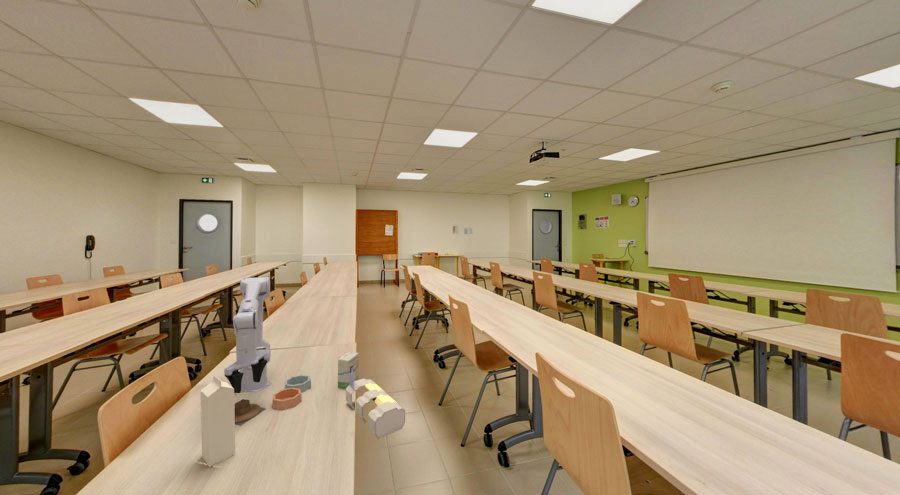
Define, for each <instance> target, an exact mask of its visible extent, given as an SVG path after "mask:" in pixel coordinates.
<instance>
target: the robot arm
mask: <svg viewBox="0 0 900 495" xmlns="http://www.w3.org/2000/svg"><path fill="white" fill-rule="evenodd" d="M239 288H240V289H239V290H240V292H241V295H242V297H243V299H242V300H241V301H240V304H239V308H238V311H237V314H234V316H233V318H232V320H233V321H232V323H233V330H234V336H235V350H236V351H235V352H236V353H235V354H236V361H234V362H233V363H231V365H229V366H228V367H225V368H224V370H223V371H224V372H223V373H224V374H223V375H224V377H225V378H226V379H227V380H228V382H229V385H230V386H232V387H233V388H234V394H240V393H241V392H242V391H243V392H250V393H258V392H259V391H261V390H264V389H265V388H266V387H269V386H270V385H272V384H273V382H272V381H268V377H267V375H268V374H267V373H268V371H267V370H268V369H267V364H269V363H270V361H271V355H272V354H271V344H270V342H268V341H267V340H265V339H263V331H264V330H263V328H264V326H263V324H264V321H263V320H264V303H265V300H266V299H267V298H268V297H270V295H271V278H270V277H269V276H262V277H259V276H258V277H257V276H256V277H242V278H241V279H240V284H239Z"/></svg>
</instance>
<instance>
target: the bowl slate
mask: <svg viewBox="0 0 900 495" xmlns="http://www.w3.org/2000/svg"><path fill="white" fill-rule="evenodd" d="M311 384H312V382H311V376H310V375H305V374H300V375H294V376H291V377H289V378H288V379H285V380H284V389H288V388H298V389H300V390H301V394H302V393H305V392H307V391H308V390H310V389H312V387H311V386H312V385H311Z"/></svg>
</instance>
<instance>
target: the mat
mask: <svg viewBox="0 0 900 495" xmlns="http://www.w3.org/2000/svg"><path fill="white" fill-rule="evenodd" d="M267 409H268V408H266V407H261V406H260V412H259V414H261V413H262V412H264V411H265V410H267ZM249 421H250V420H247V421H245V422H241V423H236V424H235V426H240V427H241V426H243V425H244V424H246V423H247V422H249Z"/></svg>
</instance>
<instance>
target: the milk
mask: <svg viewBox="0 0 900 495" xmlns="http://www.w3.org/2000/svg"><path fill="white" fill-rule="evenodd" d="M212 379H213V380H212V381H210V382H209V383H208V384H207V385H205V386H204V387H203V388H202V389H200V419H201V420H200V421H201V457H202V459H203V460H204V462H206V465H207V466H208V468H212V467H213V465H215V464H218V463H219V462H222V461H224V460H226V459H229V457H231V456H233V455H236V427H235V426H236V425H235V411H234V408H235V393H234V388H233V387H232V386H231V384H230V383H228V382H226V381H222V380H221V379H219V377H217V376H215V374H214V375H213V376H212ZM211 466H212V467H211Z"/></svg>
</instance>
